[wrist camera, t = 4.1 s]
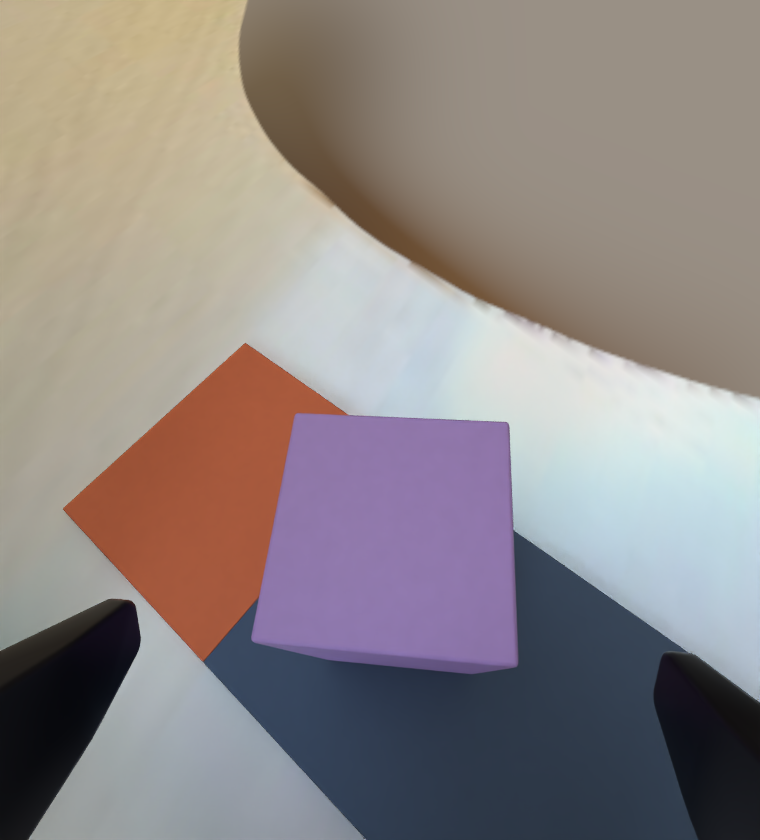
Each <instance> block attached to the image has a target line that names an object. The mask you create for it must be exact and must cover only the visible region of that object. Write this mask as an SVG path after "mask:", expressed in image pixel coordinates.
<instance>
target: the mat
mask: <svg viewBox="0 0 760 840" xmlns="http://www.w3.org/2000/svg"><path fill="white" fill-rule="evenodd" d="M297 413H306V414H329V415H348V414H346V413H345V412H343V411H342V410H341V409H339V408H338V407H336V406H335V405H333V404H332V403H331V402H329V401H328V400H326V399H325V398H323V397H322V396H321V395H319V394H318V393H316V392H315V391H313V390H312V389H311V388H309V387H308V386H306V385H305V384H303V383H302V382H300V381H299V380H298V379H296V378H295V377H293V376H292V375H290V374H289V373H288V372H286V371H285V370H283V369H282V368H280V367H279V366H278V365H276V364H275V363H273V362H272V361H270V360H269V359H268V358H266V357H265V356H263V355H262V354H260V353H259V352H258V351H256V350H255V349H253V348H252V347H250V346H249V345H248V344H246V343H245V344H243V345H242V346H241V347H240V348H239V349H238V350H237V351H236V352H235V353H234V354H232V355H231V356H230V357H229V358H228V359H227V360H226V361H225V362H224V363H223V364H221V365H220V366H219V367H218V368H217V369H216V370H215V371H214V372H213V373H212V374H210V375H209V376H208V377H207V378H206V379H205V380H204V381H203V382H202V383H201V384H199V385H198V386H197V387H196V388H195V389H194V390H193V391H192V392H191V393H190V394H188V395H187V396H186V397H185V398H184V399H183V400H182V401H181V402H180V403H179V404H177V405H176V406H175V407H174V408H173V409H172V410H171V411H170V412H169V413H168V414H166V415H165V416H164V417H163V418H162V419H161V420H160V421H159V422H158V423H157V424H155V425H154V426H153V427H152V428H151V429H150V430H149V431H148V432H147V433H145V434H144V435H143V436H142V437H141V438H140V439H139V440H138V441H137V442H136V443H134V444H133V445H132V446H131V447H130V448H129V449H128V450H127V451H126V452H125V453H123V454H122V455H121V456H120V457H119V458H118V459H117V460H116V461H115V462H114V463H112V464H111V465H110V466H109V467H108V468H107V469H106V470H105V471H104V472H103V473H101V474H100V475H99V476H98V477H97V478H96V479H95V480H94V481H93V482H92V483H90V484H89V485H88V486H87V487H86V488H85V489H84V490H83V491H82V492H81V493H79V494H78V495H77V496H76V497H75V498H74V499H73V500H72V501H71V502H70V503H68V504H67V505H66V506H65V507H64V508H63V510H64V511H65V512H66V513H67V514H68V515H69V517H70V518H71V519H72V520H73V521H74V522H75V523H76V524H77V525H78V526H79V527H80V529H81V530H82V531H83V532H84V533H85V534H86V535H87V536H88V537H89V538H90V539H91V541H92V542H93V543H94V544H95V545H96V546H97V547H98V548H99V549H100V550H101V551H102V552H103V554H104V555H105V556H106V557H107V558H108V559H109V560H110V561H111V562H112V563H113V564H114V566H115V567H116V568H117V569H118V570H119V571H120V572H121V573H122V574H123V575H124V576H125V577H126V579H127V580H128V581H129V582H130V583H131V584H132V585H133V586H134V587H135V588H136V589H137V591H138V592H139V593H140V594H141V595H142V596H143V597H144V598H145V599H146V600H147V601H148V603H149V604H150V605H151V606H152V607H153V608H154V609H155V610H156V611H157V612H158V613H159V614H160V616H161V617H162V618H163V619H164V620H165V621H166V622H167V623H168V624H169V625H170V626H171V628H172V629H173V630H174V631H175V632H176V633H177V634H178V635H179V636H180V637H181V638H182V640H183V641H184V642H185V643H186V644H187V645H188V646H189V647H190V648H191V649H192V650H193V651H194V653H195V654H196V655H197V656H198V657H199V658H200V659H201V660H202V661H203V662H204V663H205V665H206V666H207V667H208V668H209V669H210V670H211V671H212V672H213V673H214V674H215V675H216V676H217V678H218V679H219V680H220V681H221V682H222V683H223V684H224V685H225V686H226V687H227V688H228V690H229V691H230V692H231V693H232V694H233V695H234V696H235V697H236V698H237V699H238V700H239V702H240V703H241V704H242V705H243V706H244V707H245V708H246V709H247V710H248V711H249V712H250V713H251V715H252V716H253V717H254V718H255V719H256V720H257V721H258V722H259V723H260V724H261V725H262V727H263V728H264V729H265V730H266V731H267V732H268V733H269V734H270V735H271V736H272V737H273V739H274V740H275V741H276V742H277V743H278V744H279V745H280V746H281V747H282V748H283V749H284V750H285V752H286V753H287V754H288V755H289V756H290V757H291V758H292V759H293V760H294V761H295V762H296V764H297V765H298V766H299V767H300V768H301V769H302V770H303V771H304V772H305V773H306V774H307V775H308V777H309V778H310V779H311V780H312V781H313V782H314V783H315V784H316V785H317V786H318V787H319V789H320V790H321V791H322V792H323V793H324V794H325V795H326V796H327V797H328V798H329V799H330V801H331V802H332V803H333V804H334V805H335V806H336V807H337V808H338V809H339V810H340V811H341V812H342V814H343V815H344V816H345V817H346V818H347V819H348V820H349V821H350V822H351V823H352V824H353V826H354V827H355V828H356V829H357V830H358V831H359V832H360V833H361V834H362V835H363V836H364V838H365V839H366V840H698V838H697V835H696V833H695V830H694V827H693V825H692V822H691V820H690V817H689V814H688V811H687V808H686V805H685V803H684V800H683V797H682V793H681V790H680V787H679V784H678V780H677V777H676V774H675V771H674V767H673V764H672V761H671V758H670V755H669V751H668V748H667V745H666V742H665V738H664V735H663V732H662V729H661V725H660V722H659V719H658V716H657V713H656V709H655V705H654V698H653V692H654V687H655V682H656V678H657V673H658V669H659V664H660V660H661V657H662V655H663V653H665V652H667V651H675V652H686V653H688V652H687V651H685V650H684V649H682V648H681V647H680V646H678V645H677V644H675V643H674V642H672V641H671V640H670V639H668V638H667V637H665V636H664V635H662V634H661V633H660V632H658V631H657V630H655V629H654V628H652V627H651V626H650V625H648V624H647V623H645V622H644V621H642V620H641V619H640V618H638V617H637V616H635V615H634V614H632V613H631V612H630V611H628V610H627V609H625V608H624V607H622V606H621V605H619V604H618V603H617V602H615V601H614V600H612V599H611V598H609V597H608V596H607V595H605V594H604V593H602V592H601V591H599V590H598V589H597V588H595V587H594V586H592V585H591V584H589V583H588V582H587V581H585V580H584V579H582V578H581V577H579V576H578V575H577V574H575V573H574V572H572V571H571V570H569V569H568V568H567V567H565V566H564V565H562V564H561V563H559V562H558V561H557V560H555V559H554V558H552V557H551V556H549V555H548V554H547V553H545V552H544V551H542V550H541V549H539V548H538V547H537V546H535V545H534V544H532V543H531V542H529V541H528V540H527V539H525V538H524V537H522V536H521V535H519V534H518V533H517V532H515V531H514V530H513V533H514V559H515V585H516V610H517V636H518V662H519V663H518V666H517V667H515V668H509V669H503V670H496V671H490V672H483V673H476V674H465V673H455V672H444V671H434V670H424V669H414V668H404V667H394V666H384V665H374V664H364V663H353V662H343V661H333V660H326V659H322V658H318V657H313V656H309V655H305V654H300V653H296V652H292V651H288V650H283V649H279V648H275V647H270V646H266V645H262V644H258V643H254V642H253V641H252V639H251V636H252V631H253V626H254V621H255V616H256V610H257V605H258V600H259V595H260V590H261V585H262V580H263V575H264V570H265V564H266V559H267V554H268V549H269V544H270V539H271V534H272V529H273V524H274V518H275V513H276V508H277V503H278V498H279V493H280V488H281V483H282V478H283V472H284V467H285V462H286V457H287V452H288V447H289V442H290V437H291V431H292V426H293V421H294V416H295V414H297ZM759 703H760V702H759Z"/></svg>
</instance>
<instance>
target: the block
mask: <svg viewBox="0 0 760 840" xmlns="http://www.w3.org/2000/svg"><path fill="white" fill-rule="evenodd" d="M251 639H252V641H253V642H254V643H258V644H262V645H266V646H270V647H275V648H279V649H283V650H288V651H292V652H296V653H300V654H305V655H309V656H313V657H318V658H322V659H326V660H333V661H343V662H353V663H364V664H374V665H384V666H394V667H404V668H414V669H424V670H434V671H444V672H455V673H465V674H476V673H483V672H490V671H496V670H503V669H509V668H515V667H517V666H518V663H519V662H518V636H517V610H516V585H515V559H514V533H513V507H512V482H511V456H510V430H509V424H508V423H507V422H492V421H469V420H446V419H422V418H399V417H376V416H353V415H329V414H306V413H297V414H295V416H294V421H293V426H292V431H291V437H290V442H289V447H288V452H287V457H286V462H285V467H284V472H283V478H282V483H281V488H280V493H279V498H278V503H277V508H276V513H275V518H274V524H273V529H272V534H271V539H270V544H269V549H268V554H267V559H266V564H265V570H264V575H263V580H262V585H261V590H260V595H259V600H258V605H257V610H256V616H255V621H254V626H253V631H252V636H251Z"/></svg>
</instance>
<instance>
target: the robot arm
mask: <svg viewBox="0 0 760 840" xmlns="http://www.w3.org/2000/svg"><path fill="white" fill-rule="evenodd" d="M140 641H141V636H140V630H139V624H138V618H137V611H136V606H135V604H134V603H133V602H132V601H130V600H122V599H108V600H106V601H104V602H102V603H99V604H97V605H95V606H93V607H91V608H89V609H87V610H85V611H83V612H81V613H79V614H77V615H74V616H72V617H70V618H68V619H66V620H64V621H62V622H60V623H58V624H56V625H54V626H52V627H49V628H47V629H45V630H43V631H41V632H39V633H37V634H35V635H33V636H31V637H29V638H27V639H24V640H22V641H20V642H18V643H16V644H14V645H12V646H10V647H8V648H6V649H4V650H2V651H0V840H28V839H29V837H30V836H31V834H32V833H33V831H34V830H35V828H36V826H37V825H38V823H39V822H40V820H41V819H42V817H43V815H44V814H45V812H46V811H47V809H48V808H49V806H50V805H51V803H52V801H53V800H54V798H55V797H56V795H57V794H58V792H59V790H60V789H61V787H62V786H63V784H64V783H65V781H66V779H67V778H68V776H69V775H70V773H71V772H72V770H73V768H74V767H75V765H76V764H77V762H78V761H79V759H80V758H81V756H82V754H83V753H84V751H85V749H86V748H87V746H88V745H89V743H90V741H91V740H92V738H93V736H94V734H95V733H96V731H97V729H98V727H99V725H100V724H101V722H102V720H103V718H104V716H105V714H106V712H107V710H108V708H109V706H110V704H111V703H112V701H113V699H114V697H115V695H116V693H117V691H118V689H119V687H120V685H121V683H122V681H123V680H124V678H125V676H126V674H127V672H128V670H129V668H130V666H131V664H132V662H133V660H134V659H135V657H136V655H137V653H138V650H139V647H140ZM653 698H654V705H655V709H656V713H657V716H658V719H659V722H660V725H661V729H662V732H663V735H664V738H665V742H666V745H667V748H668V751H669V755H670V758H671V761H672V764H673V767H674V771H675V774H676V777H677V780H678V784H679V787H680V790H681V793H682V797H683V800H684V803H685V805H686V808H687V811H688V814H689V817H690V820H691V822H692V825H693V827H694V830H695V833H696V835H697V838H698V840H760V703H759V702H758V701H757V700H755V699H754V698H753V697H751V696H750V695H749V694H747V693H746V692H745V691H743V690H742V689H741V688H739V687H738V686H736V685H735V684H734V683H732V682H731V681H730V680H728V679H727V678H726V677H724V676H723V675H722V674H720V673H719V672H718V671H716V670H715V669H714V668H712V667H711V666H709V665H708V664H707V663H705V662H704V661H703V660H701V659H700V658H699V657H697V656H696V655H694V654H692V653H686V652H675V651H667V652H665V653H663V655H662V657H661V660H660V664H659V669H658V673H657V678H656V682H655V687H654V692H653Z"/></svg>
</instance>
